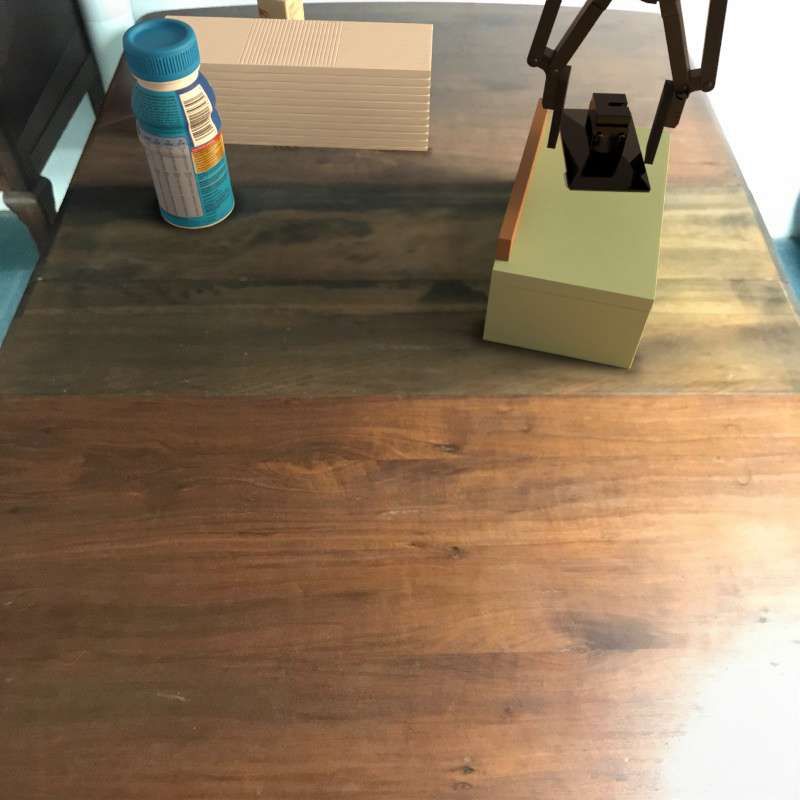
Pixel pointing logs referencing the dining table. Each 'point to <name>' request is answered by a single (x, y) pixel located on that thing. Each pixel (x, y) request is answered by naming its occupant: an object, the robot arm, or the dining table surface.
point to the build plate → (602, 147)
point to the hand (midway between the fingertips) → (600, 147)
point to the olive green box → (576, 258)
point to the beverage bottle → (178, 123)
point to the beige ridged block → (318, 81)
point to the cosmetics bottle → (281, 9)
